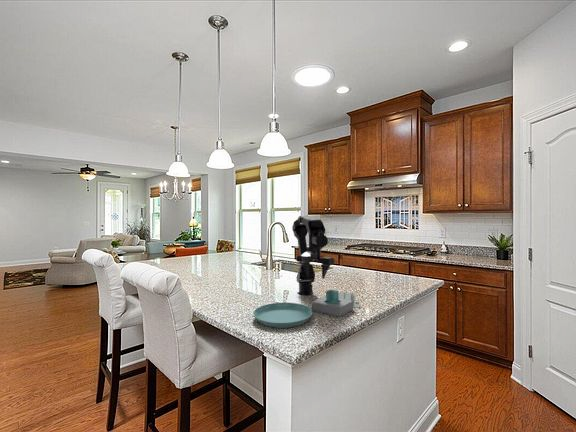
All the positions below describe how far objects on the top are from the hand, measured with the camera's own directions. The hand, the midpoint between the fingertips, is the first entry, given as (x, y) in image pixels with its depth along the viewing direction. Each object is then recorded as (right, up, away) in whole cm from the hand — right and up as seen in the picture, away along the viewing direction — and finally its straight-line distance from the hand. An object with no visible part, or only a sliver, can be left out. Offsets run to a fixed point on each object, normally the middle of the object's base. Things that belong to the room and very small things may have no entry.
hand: (315, 277), depth 145 cm
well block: (+7, -12, -13) cm, 19 cm away
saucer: (-15, -13, -22) cm, 30 cm away
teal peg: (+6, -12, -13) cm, 18 cm away
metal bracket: (+14, -13, -2) cm, 19 cm away
